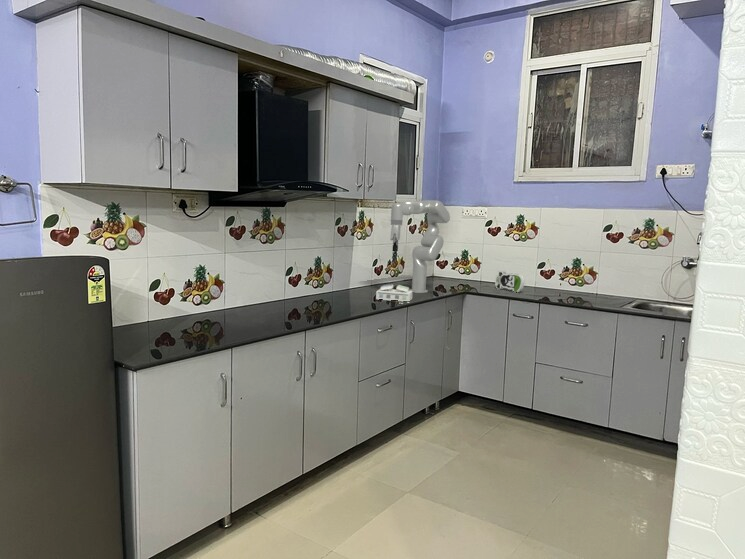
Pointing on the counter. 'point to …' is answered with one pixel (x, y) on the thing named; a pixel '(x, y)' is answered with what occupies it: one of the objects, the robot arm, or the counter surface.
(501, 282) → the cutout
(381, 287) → the slate rocker
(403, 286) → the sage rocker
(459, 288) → the counter surface
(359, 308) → the counter surface
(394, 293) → the switch box
